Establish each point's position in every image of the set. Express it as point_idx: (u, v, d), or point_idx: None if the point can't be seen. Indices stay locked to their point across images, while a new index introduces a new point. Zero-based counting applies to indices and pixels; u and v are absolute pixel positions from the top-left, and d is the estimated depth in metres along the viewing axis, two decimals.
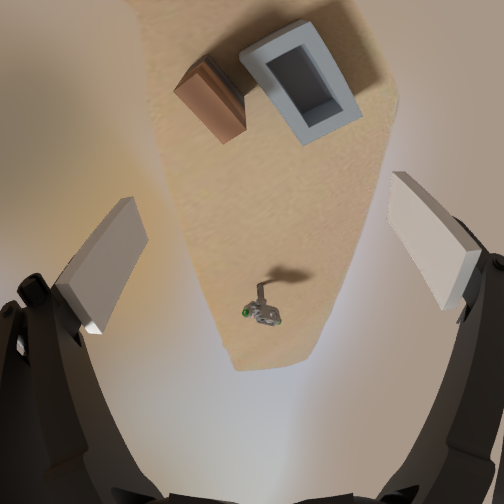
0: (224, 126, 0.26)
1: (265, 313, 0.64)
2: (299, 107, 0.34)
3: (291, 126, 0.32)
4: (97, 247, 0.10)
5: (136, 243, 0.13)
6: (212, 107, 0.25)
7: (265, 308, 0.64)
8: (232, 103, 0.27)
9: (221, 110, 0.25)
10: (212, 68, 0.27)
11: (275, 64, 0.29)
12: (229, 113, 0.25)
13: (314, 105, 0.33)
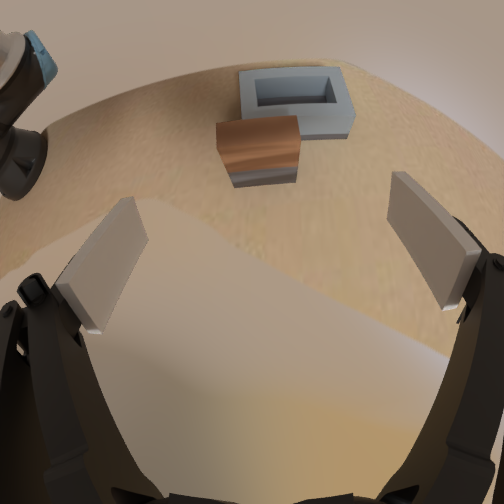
0: (281, 128, 0.25)
1: None
2: None
3: (329, 114, 0.30)
4: (97, 247, 0.10)
5: (136, 243, 0.13)
6: (255, 127, 0.25)
7: None
8: None
9: (263, 122, 0.25)
10: None
11: None
12: (271, 118, 0.25)
13: None
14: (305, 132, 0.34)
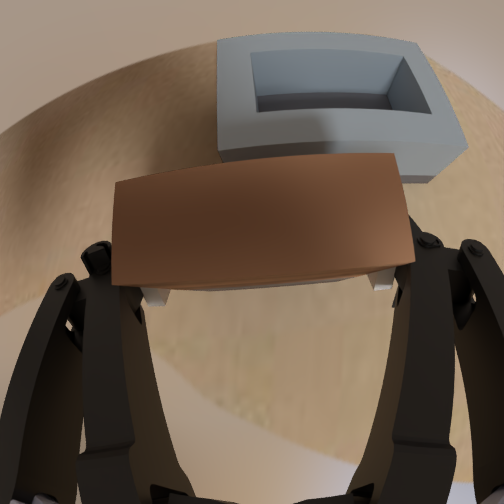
0: (347, 206, 0.07)
1: None
2: None
3: (423, 139, 0.12)
4: None
5: None
6: (245, 201, 0.07)
7: None
8: None
9: (278, 180, 0.07)
10: None
11: None
12: (306, 162, 0.07)
13: None
14: None
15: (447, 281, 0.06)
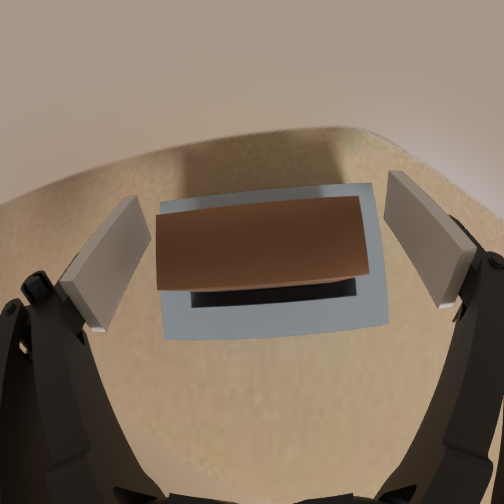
0: (321, 237, 0.10)
1: None
2: (327, 293, 0.20)
3: (337, 327, 0.16)
4: (101, 245, 0.10)
5: (139, 241, 0.13)
6: (252, 233, 0.10)
7: None
8: None
9: (274, 218, 0.10)
10: None
11: (231, 293, 0.21)
12: (294, 205, 0.10)
13: None
14: None
15: None
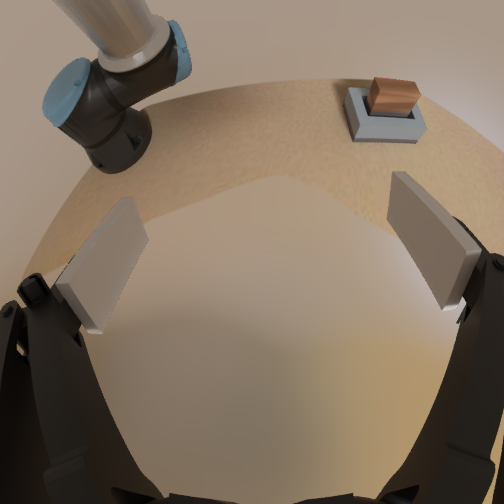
0: (409, 87, 0.35)
1: None
2: None
3: (412, 126, 0.40)
4: (97, 247, 0.10)
5: (136, 243, 0.13)
6: (396, 84, 0.35)
7: None
8: None
9: (400, 82, 0.35)
10: None
11: None
12: (403, 81, 0.35)
13: None
14: (393, 137, 0.45)
15: None
